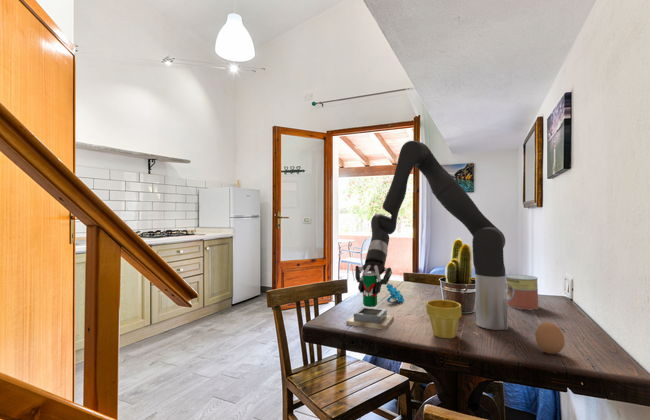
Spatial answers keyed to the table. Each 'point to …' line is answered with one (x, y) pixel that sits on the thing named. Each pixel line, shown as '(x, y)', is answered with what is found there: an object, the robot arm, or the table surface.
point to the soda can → (369, 288)
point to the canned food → (522, 291)
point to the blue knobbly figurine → (394, 293)
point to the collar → (370, 315)
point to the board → (383, 325)
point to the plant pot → (444, 317)
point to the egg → (549, 338)
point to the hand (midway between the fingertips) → (368, 292)
